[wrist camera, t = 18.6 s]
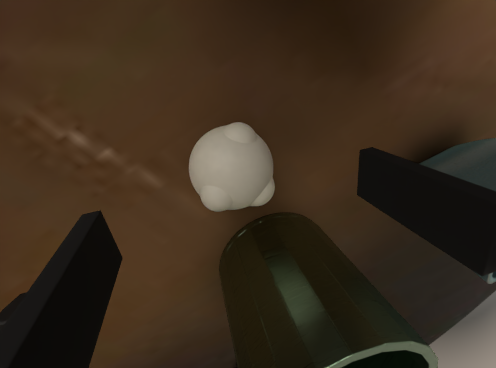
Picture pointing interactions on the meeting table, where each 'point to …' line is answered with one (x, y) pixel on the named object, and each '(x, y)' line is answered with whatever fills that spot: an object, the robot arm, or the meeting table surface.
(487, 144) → the flower pot
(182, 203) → the meeting table surface
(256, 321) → the trash can
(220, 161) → the paper ball
